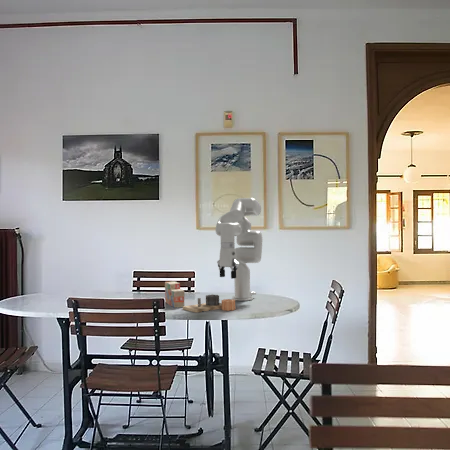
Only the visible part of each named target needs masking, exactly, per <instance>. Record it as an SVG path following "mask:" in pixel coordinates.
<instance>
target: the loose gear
mask: <svg viewBox="0 0 450 450" xmlns="http://www.w3.org/2000/svg"><path fill="white" fill-rule="evenodd" d="M221 303H222V309H221V311H235V310H236V300H234V299H232V298H231V299H230V298H227V299H225V298H224V299H221Z"/></svg>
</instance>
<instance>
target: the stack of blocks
mask: <svg viewBox="0 0 450 450" xmlns="http://www.w3.org/2000/svg"><path fill="white" fill-rule="evenodd" d="M164 291H165V292H164V296H165V297H164V299H165V301H164V302H165V303H166V304H168V305H169V306H170V307H172V308H173V309H175V308H176V307H177V308H183V306H185V290H183V289H182V288H181V283H180V282H177V281H175V280H174V281H165V282H164Z"/></svg>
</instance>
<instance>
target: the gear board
mask: <svg viewBox="0 0 450 450" xmlns="http://www.w3.org/2000/svg"><path fill="white" fill-rule="evenodd" d="M182 310H184V311H187V312H188V311H189V312H192V313H203V312H202V311H204V312H209V310H210V311H215V310H222V302H220V295H218V294H207V295H205V302H204V303H202V301H201V297H198V298H197V303H195V304H190V305H184V306H183V307H182Z"/></svg>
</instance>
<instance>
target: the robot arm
mask: <svg viewBox="0 0 450 450" xmlns="http://www.w3.org/2000/svg"><path fill="white" fill-rule="evenodd" d="M261 211H262V206H261V203H260V202H259V201H258V200H257V199H255V198H253V197H239V198H236V199H235V200H234V201H232V205H231V207H230V210H229V211H228V212H226V213H225V214H222V215H221V216H220V217H218V218H219V219H218V220H217V223H216V225H215V234H216V235H217V236H218V237H220V250H219V259H218V260H217V261H216V263H217V267H218V270H219V277H220V278H225V277H226V270H225V268H230V270H231V271H230V278H231V279H234V281H233V282H234V283H233V284H234V295H233V296H232V298H231V299H234V300H235V301H238V302H239V301H241V302H243V301H246V302H247V301H252V300H253V299H254V297H253V296H255V295H257V292H256V291H251V272H250V271H251V270H250V268H249V266H248V265H247V264H259V263H260V262H261V260H262V255H263V254H262V253H263V251H262V250H263V234H262V233H261V231H259V230H252V222H251V221H250V220H249V219H248V218H247V217H250V216H251V217H254V216H256V217H257V216H259V215H261ZM235 237H236V244H237V246H240V247H235Z"/></svg>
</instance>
